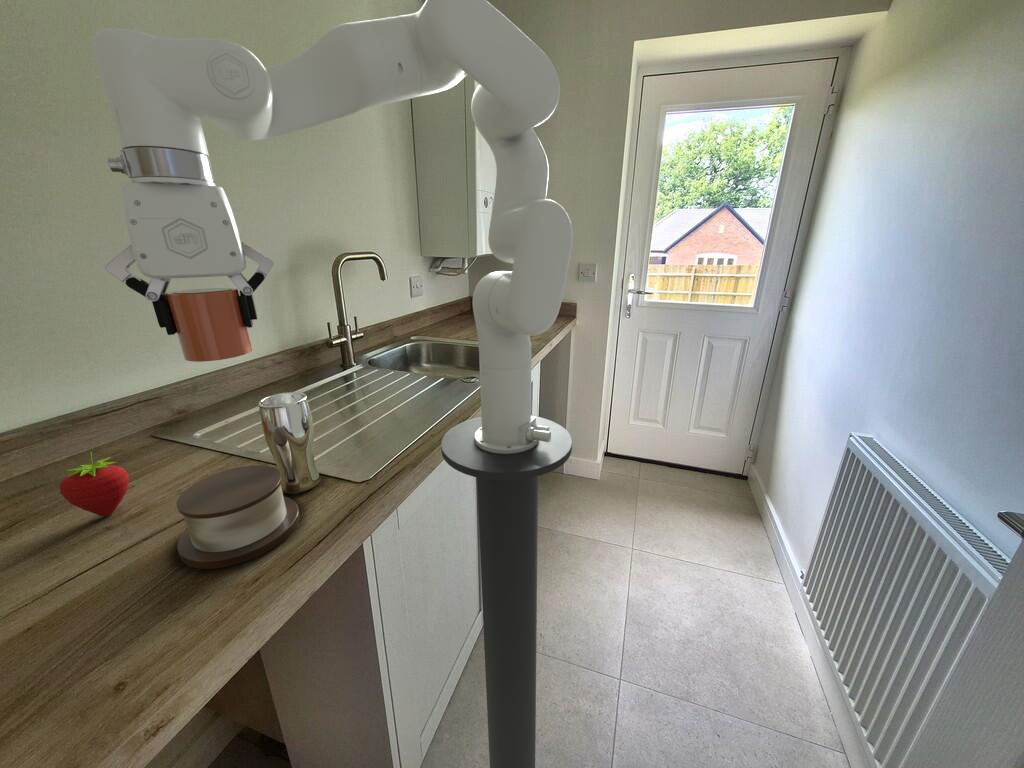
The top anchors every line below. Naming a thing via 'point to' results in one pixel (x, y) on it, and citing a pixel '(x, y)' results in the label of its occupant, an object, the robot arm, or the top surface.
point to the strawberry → (96, 487)
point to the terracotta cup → (209, 323)
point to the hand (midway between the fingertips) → (213, 328)
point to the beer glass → (290, 439)
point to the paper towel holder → (234, 517)
